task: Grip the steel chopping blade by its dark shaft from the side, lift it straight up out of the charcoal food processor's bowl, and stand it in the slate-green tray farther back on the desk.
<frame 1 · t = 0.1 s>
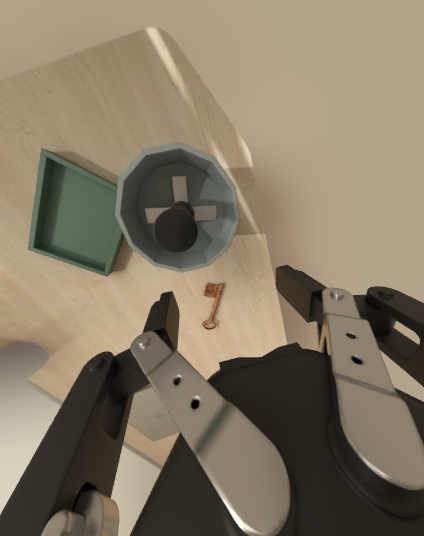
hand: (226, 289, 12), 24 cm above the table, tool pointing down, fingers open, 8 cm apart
processor: (184, 208, 31), on the table
tray: (86, 221, 30), on the table
blade: (182, 212, 23), point 10 cm above the table, touching processor
key: (210, 306, 42), on the table
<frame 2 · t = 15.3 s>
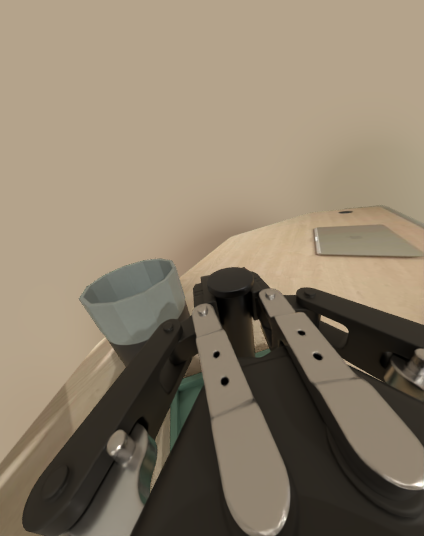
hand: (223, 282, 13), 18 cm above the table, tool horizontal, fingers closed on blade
processor: (163, 346, 30), on the table
tray: (250, 427, 18), on the table
blade: (247, 400, 15), point 6 cm above the table, touching gripper
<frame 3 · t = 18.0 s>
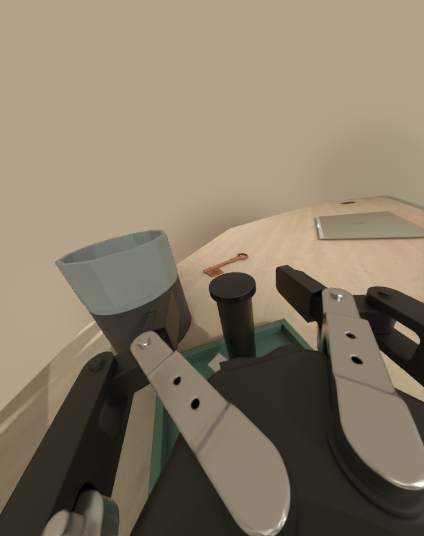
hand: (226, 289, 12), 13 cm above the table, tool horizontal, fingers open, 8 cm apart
processor: (155, 327, 28), on the table
tray: (248, 405, 16), on the table
blade: (249, 403, 15), point 1 cm above the table, touching tray
key: (228, 265, 45), on the table
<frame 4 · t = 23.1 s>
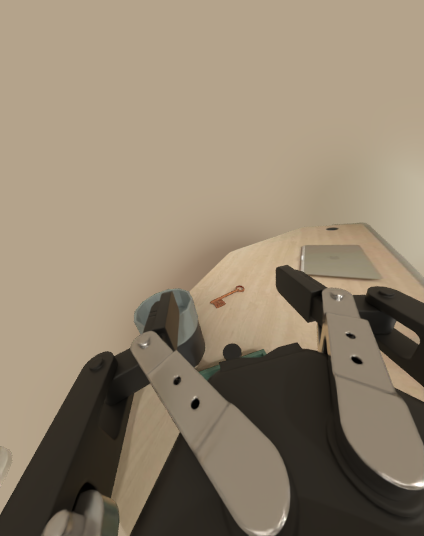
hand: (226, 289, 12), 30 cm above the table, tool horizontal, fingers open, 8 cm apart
processor: (181, 350, 43), on the table
blade: (240, 399, 30), point 1 cm above the table, touching tray
key: (229, 297, 60), on the table
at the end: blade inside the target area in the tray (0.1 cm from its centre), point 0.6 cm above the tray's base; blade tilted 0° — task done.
